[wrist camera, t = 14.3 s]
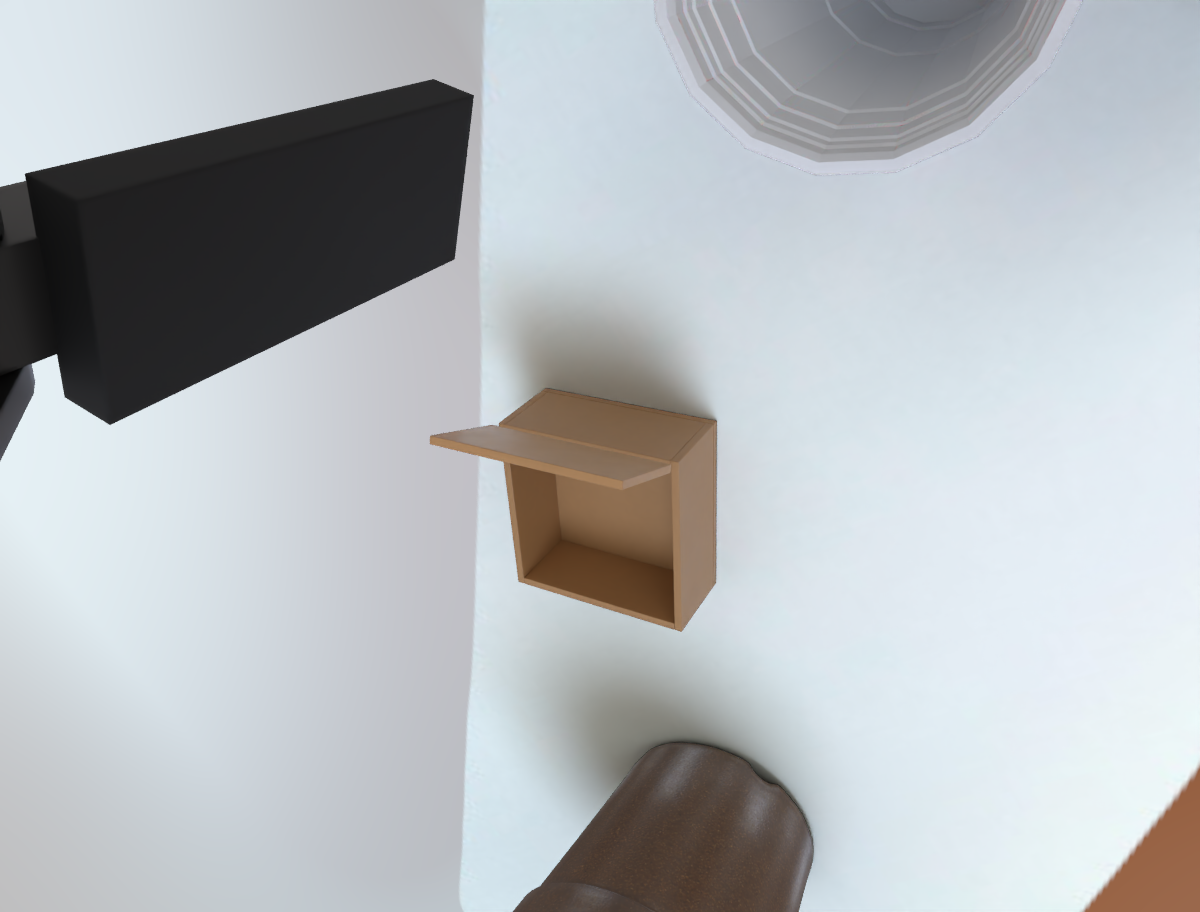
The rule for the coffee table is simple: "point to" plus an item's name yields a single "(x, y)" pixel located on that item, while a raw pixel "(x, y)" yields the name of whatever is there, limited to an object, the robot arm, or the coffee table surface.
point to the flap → (553, 456)
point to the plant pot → (685, 842)
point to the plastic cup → (860, 72)
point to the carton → (618, 510)
